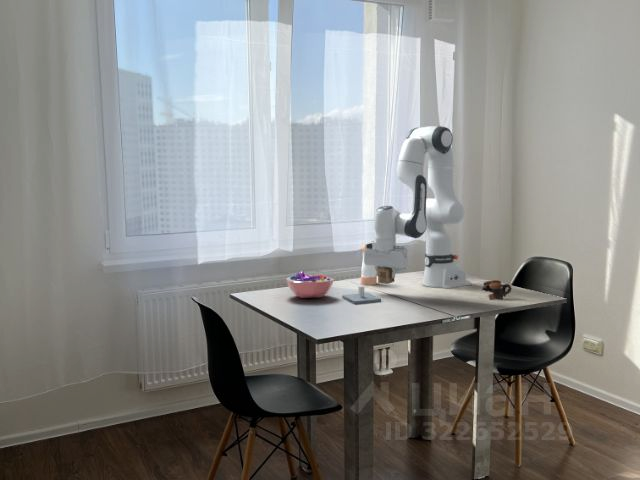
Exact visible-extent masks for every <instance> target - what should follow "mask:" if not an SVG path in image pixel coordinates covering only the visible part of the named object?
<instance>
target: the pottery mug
mask: <svg viewBox="0 0 640 480" xmlns="http://www.w3.org/2000/svg"><path fill="white" fill-rule="evenodd" d="M482 285H483V287H482V288H481V291H484V292H489V294H488V297H489V300H495V299H496V300H503V299H504V298H505V297H506V296H507V295H508V294H511V292H512V289H513V288H512V285H511V284H509V283H504V284H502V282H501V280H499V279H498V280H496V279H495V280H494V279H493V280H488V281H485V282H483V283H482Z"/></svg>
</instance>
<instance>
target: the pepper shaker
mask: <svg viewBox="0 0 640 480" xmlns="http://www.w3.org/2000/svg"><path fill="white" fill-rule="evenodd" d="M367 243H370V242H367ZM365 244H366V243H364V244H363V245H362V246H361V247H360V248H361V251H362V264H361V269H360V270H361V275H360V284H361V286H374V285H377V283H378V276H377V272H376V270H375V266H371V265H366V264H365V263H364V251H365V250H366V249H365Z"/></svg>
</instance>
